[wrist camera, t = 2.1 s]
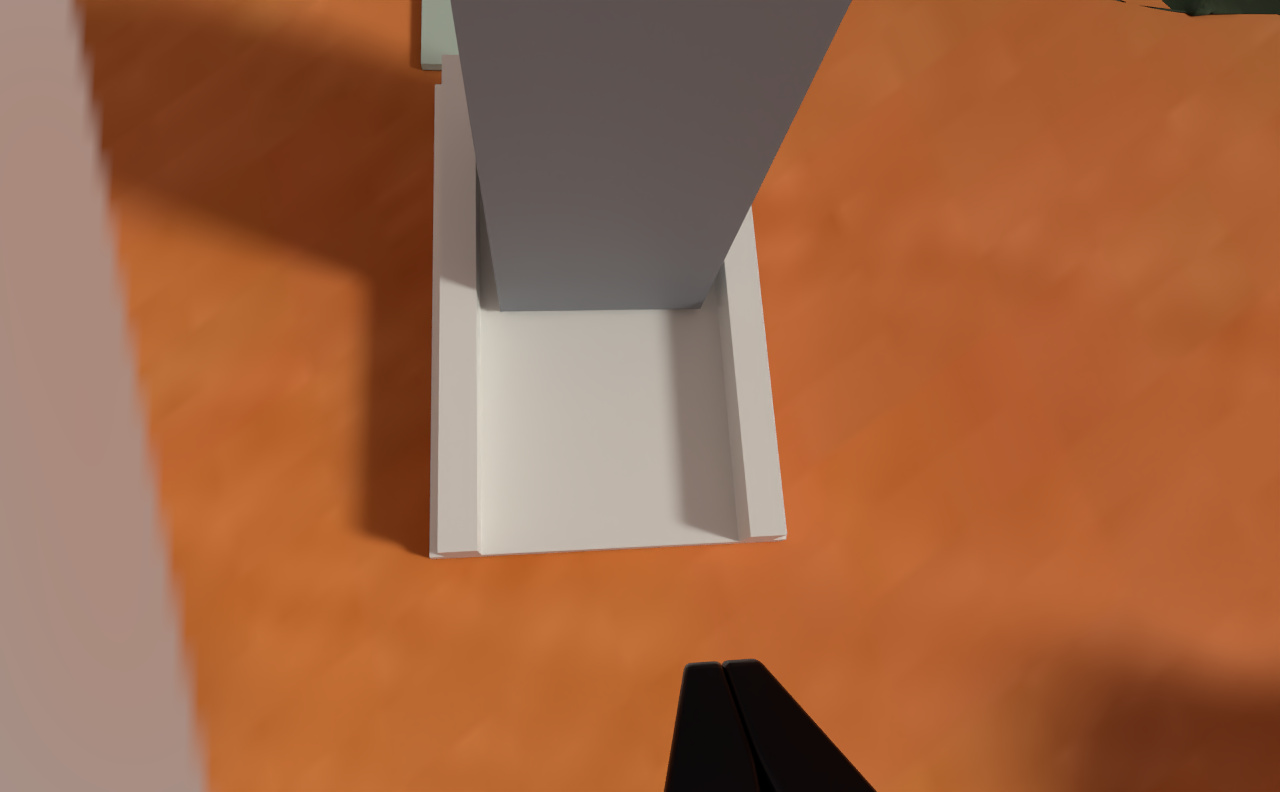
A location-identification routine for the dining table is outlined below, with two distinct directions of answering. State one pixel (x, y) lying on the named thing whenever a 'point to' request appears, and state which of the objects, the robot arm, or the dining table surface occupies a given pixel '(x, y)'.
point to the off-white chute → (588, 399)
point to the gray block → (628, 137)
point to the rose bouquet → (1222, 6)
